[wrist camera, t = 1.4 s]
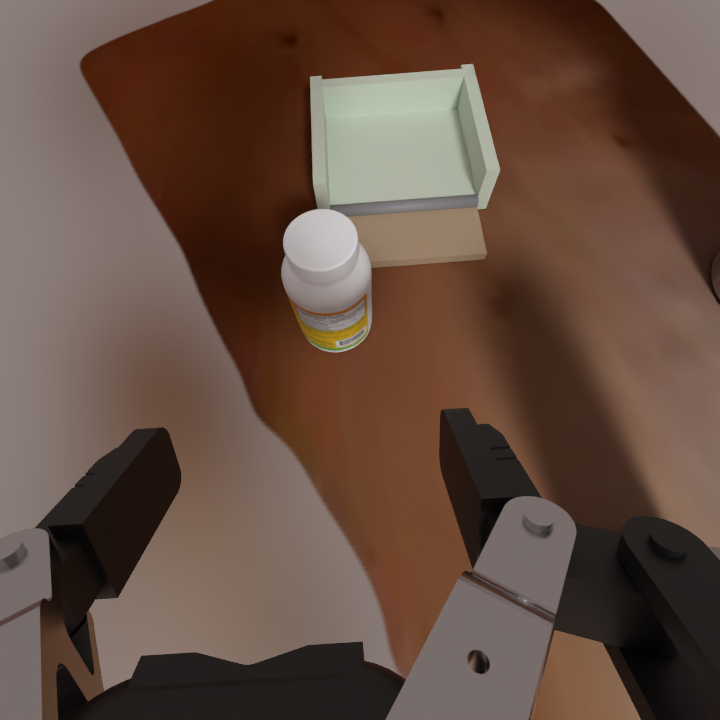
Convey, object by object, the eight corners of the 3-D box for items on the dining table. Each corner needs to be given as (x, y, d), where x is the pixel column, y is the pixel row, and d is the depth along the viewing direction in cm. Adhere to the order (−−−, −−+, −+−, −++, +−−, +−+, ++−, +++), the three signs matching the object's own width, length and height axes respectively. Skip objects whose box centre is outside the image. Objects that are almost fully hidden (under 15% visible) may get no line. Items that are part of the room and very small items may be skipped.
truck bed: (462, 109, 37) (472, 64, 33) (496, 258, 31) (514, 224, 27) (316, 120, 37) (309, 76, 33) (321, 271, 31) (314, 239, 27)
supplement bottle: (316, 282, 30) (292, 187, 21) (381, 300, 30) (384, 210, 21) (290, 342, 29) (251, 266, 20) (358, 363, 28) (351, 294, 19)
